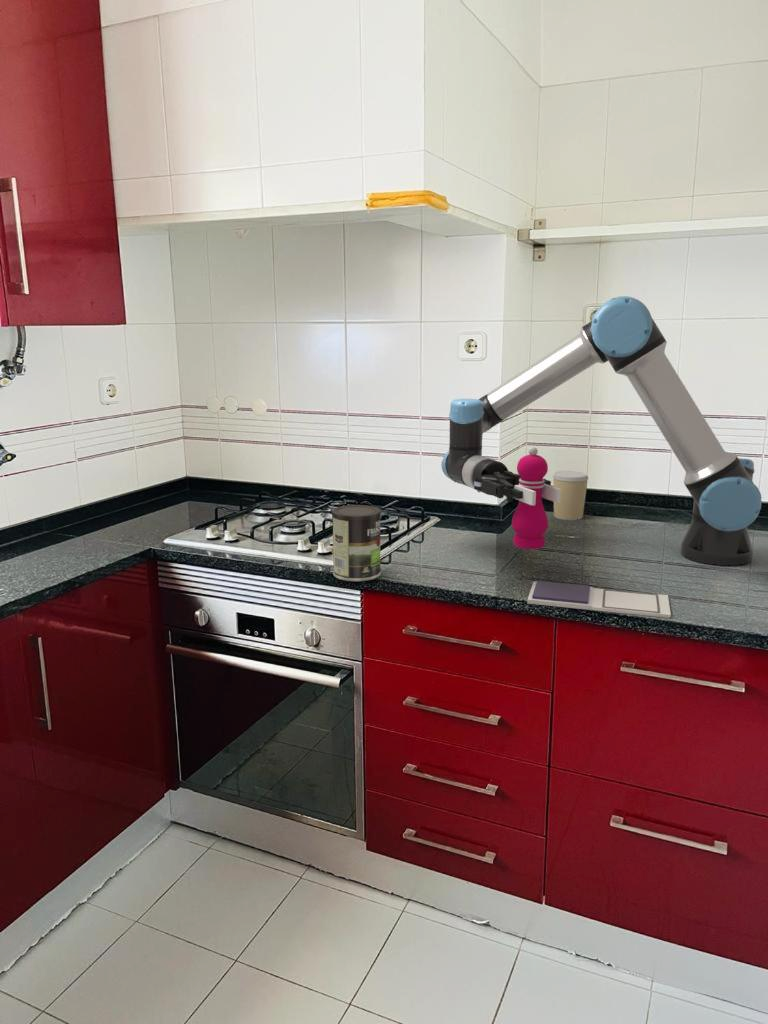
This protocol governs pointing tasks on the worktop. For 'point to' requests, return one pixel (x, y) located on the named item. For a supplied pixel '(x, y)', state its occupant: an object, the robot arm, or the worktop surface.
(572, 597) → the ink pad
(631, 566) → the worktop surface
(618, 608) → the board
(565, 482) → the coffee cup
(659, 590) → the worktop surface
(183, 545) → the worktop surface
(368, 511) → the coffee can
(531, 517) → the pepper mill
